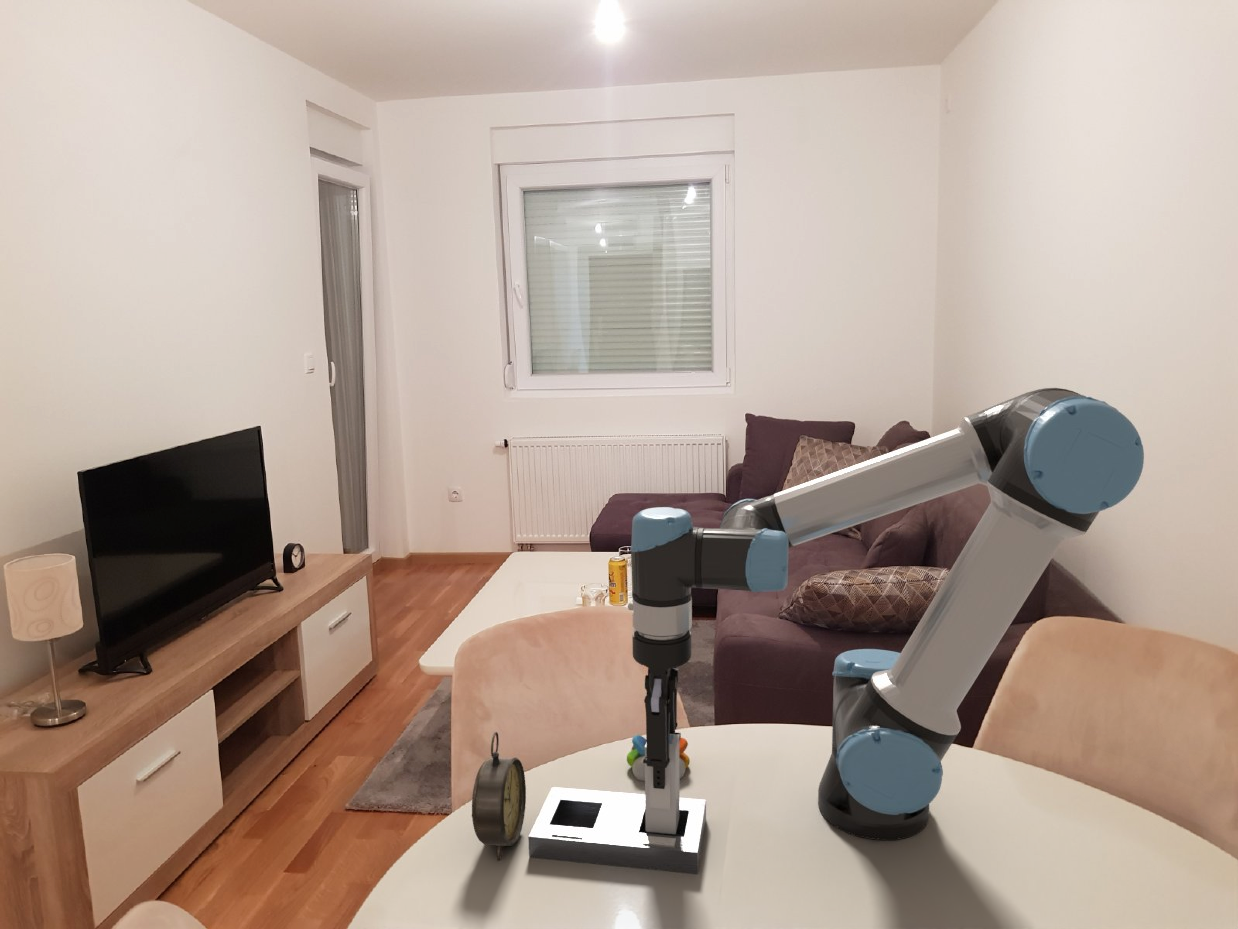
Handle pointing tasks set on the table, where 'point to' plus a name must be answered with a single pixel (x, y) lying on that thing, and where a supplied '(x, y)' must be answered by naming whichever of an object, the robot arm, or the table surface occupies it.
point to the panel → (615, 831)
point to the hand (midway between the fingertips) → (662, 796)
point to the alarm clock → (499, 800)
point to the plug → (669, 818)
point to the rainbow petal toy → (638, 755)
